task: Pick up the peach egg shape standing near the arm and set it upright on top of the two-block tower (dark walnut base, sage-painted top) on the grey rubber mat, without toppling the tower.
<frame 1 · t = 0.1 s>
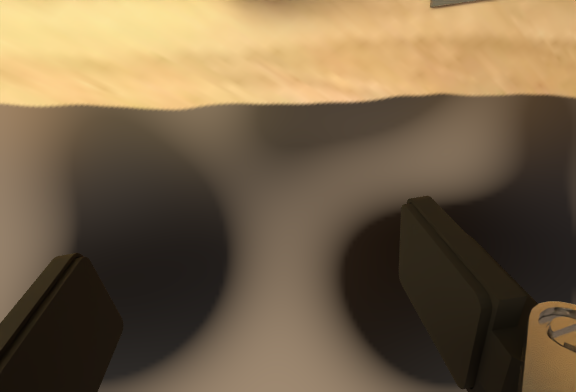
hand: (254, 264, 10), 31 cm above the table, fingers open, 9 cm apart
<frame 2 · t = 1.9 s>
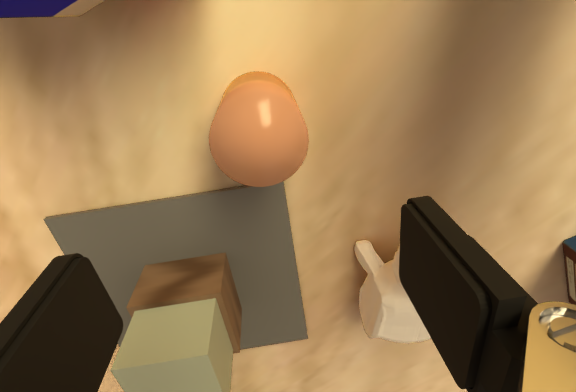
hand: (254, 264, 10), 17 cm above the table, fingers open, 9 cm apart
cream shape with stub: (393, 258, 33), on the table
peach egg shape: (258, 110, 25), on the table
tower base: (196, 288, 32), resting on rubber mat, touching tower top
tower top: (186, 331, 28), point 5 cm above the table, touching tower base
rubber mat: (196, 285, 33), on the table
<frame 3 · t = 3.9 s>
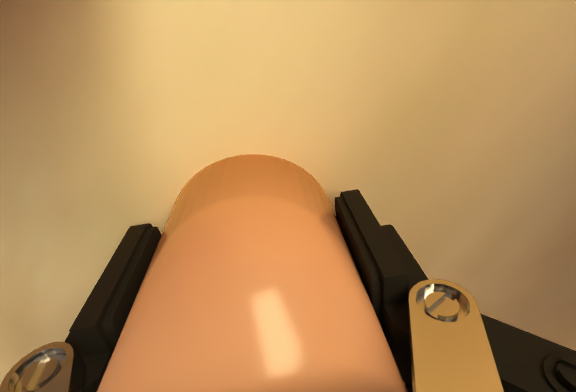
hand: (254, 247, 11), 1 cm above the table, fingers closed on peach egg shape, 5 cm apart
peach egg shape: (254, 229, 12), on the table, touching gripper
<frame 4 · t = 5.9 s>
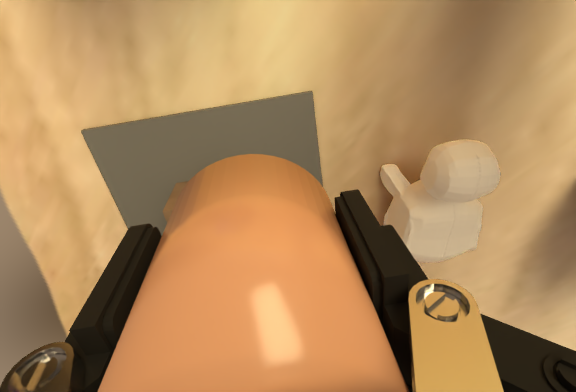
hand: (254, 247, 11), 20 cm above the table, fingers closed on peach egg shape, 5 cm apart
cream shape with stub: (417, 185, 34), on the table
peach egg shape: (254, 228, 12), point 19 cm above the table, touching gripper
tower base: (224, 209, 33), resting on rubber mat, touching tower top
rubber mat: (225, 207, 33), on the table
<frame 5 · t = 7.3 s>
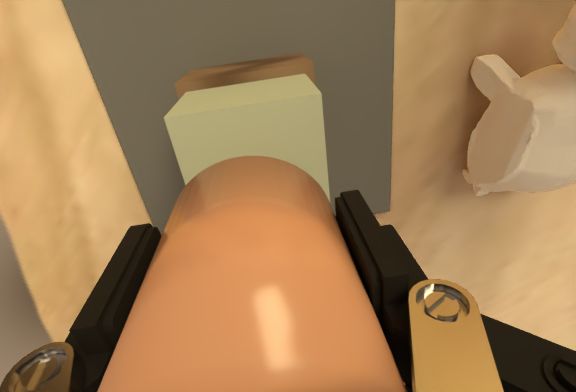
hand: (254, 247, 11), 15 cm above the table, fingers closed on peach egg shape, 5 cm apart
cream shape with stub: (514, 93, 25), on the table
peach egg shape: (254, 230, 12), point 14 cm above the table, touching gripper
tower base: (256, 116, 24), resting on rubber mat, touching tower top
tower top: (256, 139, 19), point 5 cm above the table, touching tower base
rubber mat: (256, 114, 24), on the table
when the fingers open (12 cm above the table, at t = 8.2 s): peach egg shape stays where it is, resting on tower top.
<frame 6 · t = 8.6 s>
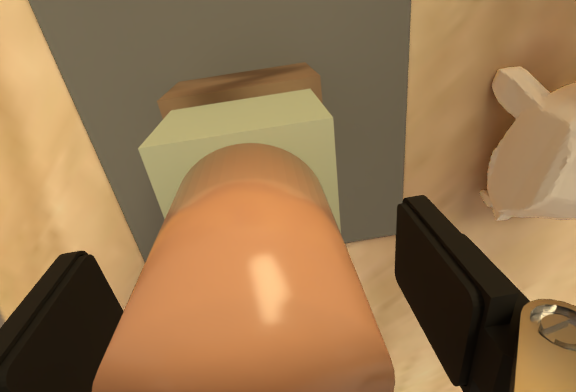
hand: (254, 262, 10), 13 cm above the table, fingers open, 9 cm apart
cream shape with stub: (539, 109, 23), on the table
peach egg shape: (252, 214, 12), point 10 cm above the table, touching tower top
tower base: (253, 133, 21), resting on rubber mat, touching tower top
tower top: (253, 163, 17), point 5 cm above the table, touching peach egg shape, tower base
rubber mat: (253, 131, 22), on the table
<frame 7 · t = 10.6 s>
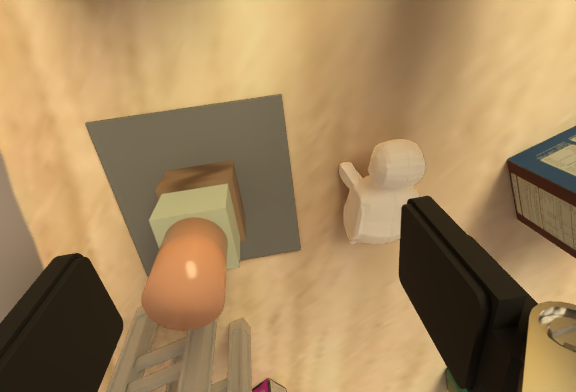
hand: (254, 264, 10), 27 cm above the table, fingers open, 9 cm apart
cream shape with stub: (370, 181, 41), on the table
peach egg shape: (196, 244, 29), point 10 cm above the table, touching tower top
tower base: (207, 195, 38), resting on rubber mat, touching tower top
tower top: (202, 216, 34), point 5 cm above the table, touching peach egg shape, tower base
rubber mat: (207, 193, 39), on the table
protein box: (565, 163, 43), on the table
stool: (196, 316, 47), on the table
pitcher: (466, 373, 62), on the table
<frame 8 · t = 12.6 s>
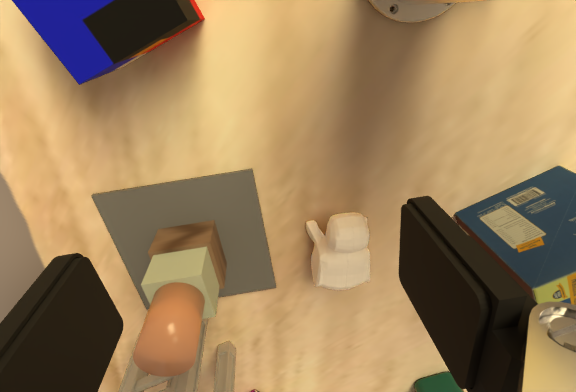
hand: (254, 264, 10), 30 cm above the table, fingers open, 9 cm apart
cream shape with stub: (334, 233, 48), on the table
peach egg shape: (179, 301, 37), point 10 cm above the table, touching tower top
tower base: (193, 246, 46), resting on rubber mat, touching tower top
tower top: (187, 271, 41), point 5 cm above the table, touching peach egg shape, tower base
rubber mat: (194, 245, 46), on the table
protein box: (509, 214, 49), on the table
stool: (189, 340, 55), on the table
pitcher: (434, 386, 69), on the table
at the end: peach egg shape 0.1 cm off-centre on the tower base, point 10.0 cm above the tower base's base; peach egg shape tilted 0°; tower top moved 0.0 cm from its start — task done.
